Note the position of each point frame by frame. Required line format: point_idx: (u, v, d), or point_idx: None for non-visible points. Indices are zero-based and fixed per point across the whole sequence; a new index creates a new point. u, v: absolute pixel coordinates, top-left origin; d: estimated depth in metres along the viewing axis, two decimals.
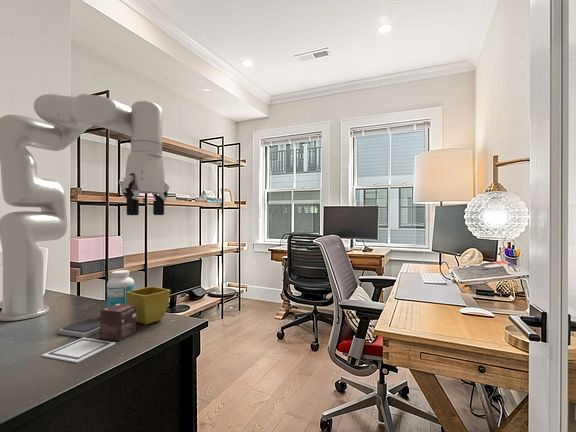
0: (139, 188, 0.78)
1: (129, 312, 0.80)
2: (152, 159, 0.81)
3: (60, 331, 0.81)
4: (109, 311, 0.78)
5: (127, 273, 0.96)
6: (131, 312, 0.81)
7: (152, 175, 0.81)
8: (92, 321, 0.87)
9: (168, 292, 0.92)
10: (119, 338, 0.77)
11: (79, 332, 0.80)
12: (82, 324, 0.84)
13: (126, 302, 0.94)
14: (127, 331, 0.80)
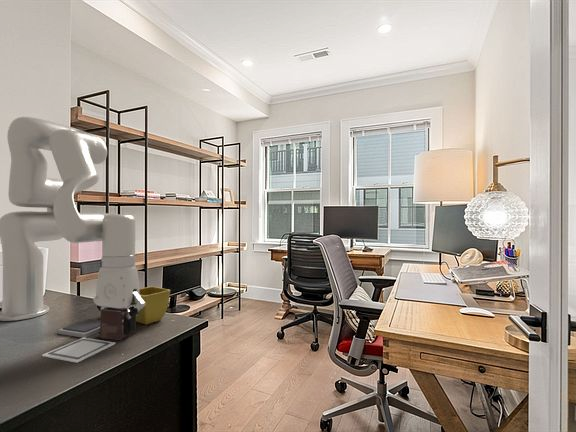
0: None
1: None
2: None
3: (60, 331, 0.81)
4: (109, 311, 0.78)
5: None
6: None
7: None
8: (92, 321, 0.87)
9: (168, 292, 0.92)
10: (119, 338, 0.77)
11: (79, 332, 0.80)
12: (82, 324, 0.84)
13: None
14: None
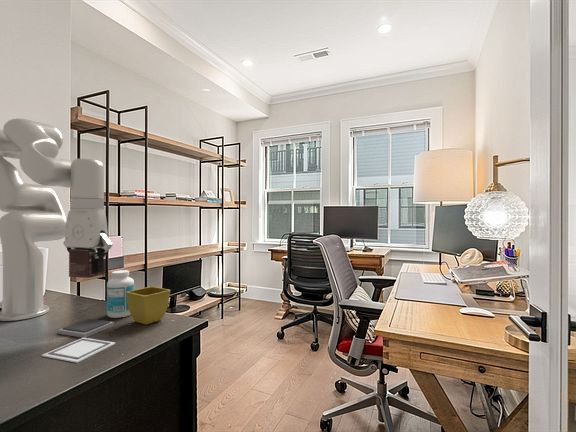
0: None
1: None
2: None
3: (60, 331, 0.81)
4: (77, 250, 0.81)
5: (127, 273, 0.96)
6: None
7: None
8: (92, 321, 0.87)
9: (168, 292, 0.92)
10: (86, 276, 0.81)
11: (79, 332, 0.80)
12: (82, 324, 0.84)
13: (126, 302, 0.94)
14: None
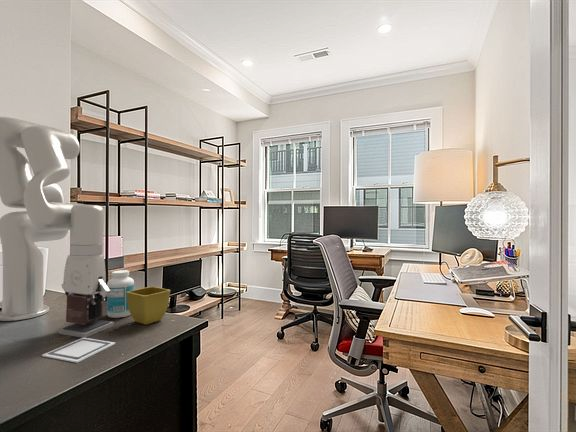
0: None
1: None
2: None
3: (60, 331, 0.81)
4: (74, 296, 0.82)
5: (127, 273, 0.96)
6: None
7: None
8: (92, 321, 0.87)
9: (168, 292, 0.92)
10: (84, 322, 0.81)
11: (79, 332, 0.80)
12: (82, 324, 0.84)
13: (126, 302, 0.94)
14: None
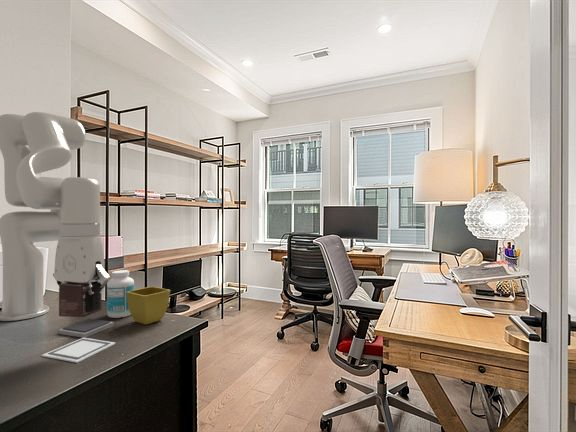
0: None
1: None
2: None
3: (60, 331, 0.81)
4: (68, 285, 0.69)
5: (127, 273, 0.96)
6: None
7: None
8: (92, 321, 0.87)
9: (168, 292, 0.92)
10: (80, 315, 0.68)
11: (79, 332, 0.80)
12: (82, 324, 0.84)
13: (126, 302, 0.94)
14: None
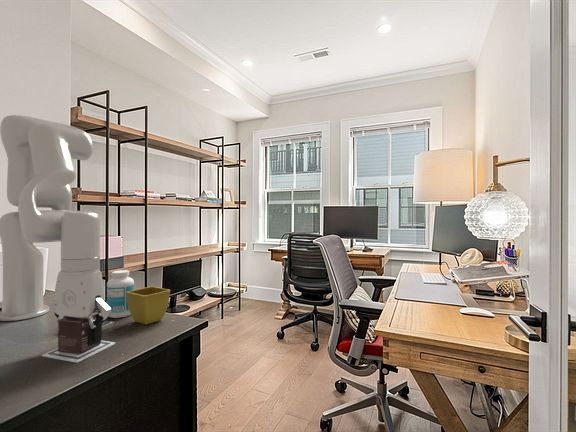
0: None
1: None
2: None
3: None
4: (67, 321, 0.69)
5: (127, 273, 0.96)
6: None
7: None
8: None
9: (168, 292, 0.92)
10: (78, 352, 0.69)
11: None
12: None
13: (126, 302, 0.94)
14: None
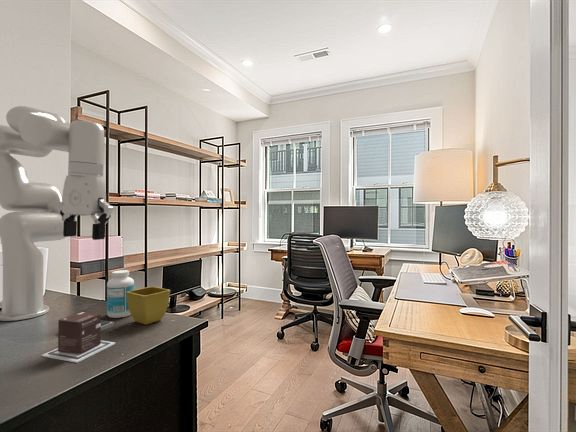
0: None
1: (91, 322, 0.72)
2: None
3: None
4: (67, 321, 0.69)
5: (127, 273, 0.96)
6: (94, 322, 0.72)
7: None
8: None
9: (168, 292, 0.92)
10: (78, 352, 0.69)
11: None
12: None
13: (126, 302, 0.94)
14: (89, 344, 0.71)
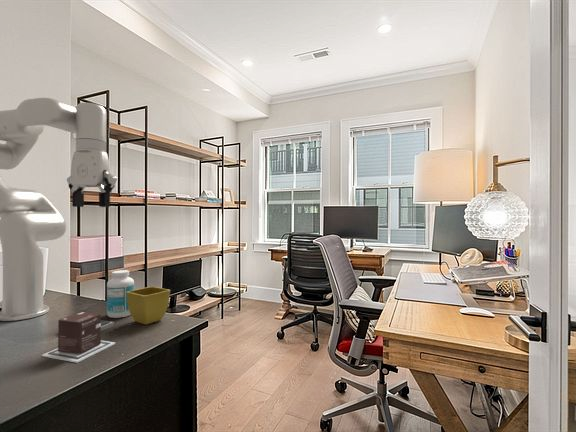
0: None
1: (91, 322, 0.72)
2: None
3: None
4: (67, 321, 0.69)
5: (127, 273, 0.96)
6: (94, 322, 0.72)
7: None
8: None
9: (168, 292, 0.92)
10: (78, 352, 0.69)
11: None
12: None
13: (126, 302, 0.94)
14: (89, 344, 0.71)
